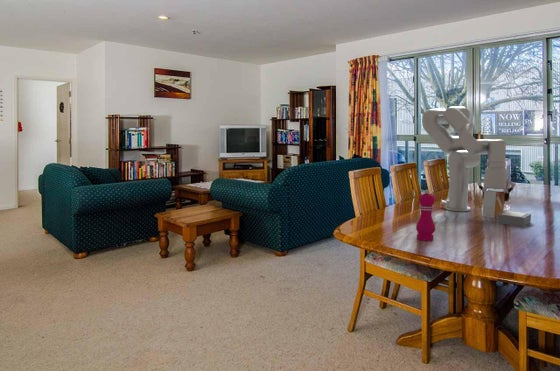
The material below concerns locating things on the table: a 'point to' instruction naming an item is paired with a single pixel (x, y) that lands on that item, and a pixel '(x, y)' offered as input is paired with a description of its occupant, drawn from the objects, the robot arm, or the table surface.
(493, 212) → the small box
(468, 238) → the table surface
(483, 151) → the robot arm
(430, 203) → the pepper mill
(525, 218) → the plinth
